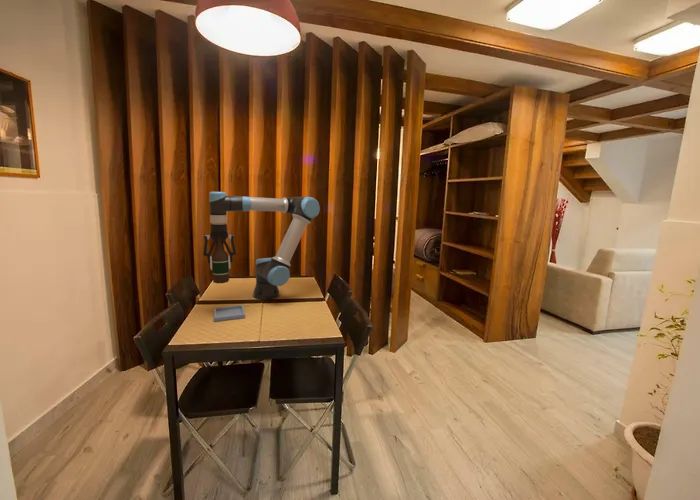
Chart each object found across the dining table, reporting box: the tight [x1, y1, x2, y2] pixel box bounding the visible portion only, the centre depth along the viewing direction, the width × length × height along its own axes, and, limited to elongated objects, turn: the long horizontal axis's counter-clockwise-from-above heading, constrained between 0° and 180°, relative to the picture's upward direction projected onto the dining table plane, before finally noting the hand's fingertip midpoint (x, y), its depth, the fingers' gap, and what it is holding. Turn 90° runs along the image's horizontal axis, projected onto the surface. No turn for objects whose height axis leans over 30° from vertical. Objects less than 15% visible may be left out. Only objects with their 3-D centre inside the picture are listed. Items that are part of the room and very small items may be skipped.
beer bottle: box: [211, 235, 230, 284], centre depth 156 cm, size 8×8×24 cm
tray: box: [213, 304, 246, 323], centre depth 158 cm, size 14×14×2 cm
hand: (220, 268), depth 157 cm, fingers closed on beer bottle, 8 cm apart
